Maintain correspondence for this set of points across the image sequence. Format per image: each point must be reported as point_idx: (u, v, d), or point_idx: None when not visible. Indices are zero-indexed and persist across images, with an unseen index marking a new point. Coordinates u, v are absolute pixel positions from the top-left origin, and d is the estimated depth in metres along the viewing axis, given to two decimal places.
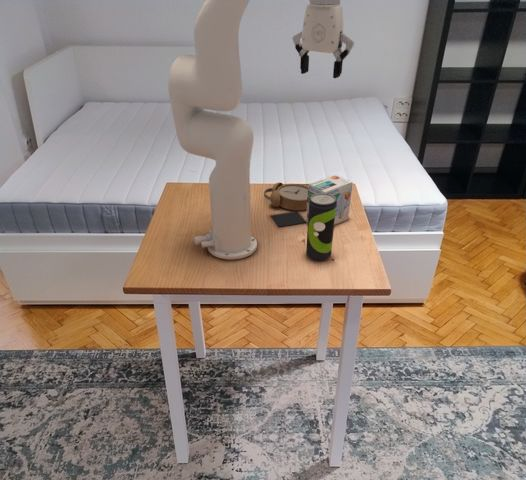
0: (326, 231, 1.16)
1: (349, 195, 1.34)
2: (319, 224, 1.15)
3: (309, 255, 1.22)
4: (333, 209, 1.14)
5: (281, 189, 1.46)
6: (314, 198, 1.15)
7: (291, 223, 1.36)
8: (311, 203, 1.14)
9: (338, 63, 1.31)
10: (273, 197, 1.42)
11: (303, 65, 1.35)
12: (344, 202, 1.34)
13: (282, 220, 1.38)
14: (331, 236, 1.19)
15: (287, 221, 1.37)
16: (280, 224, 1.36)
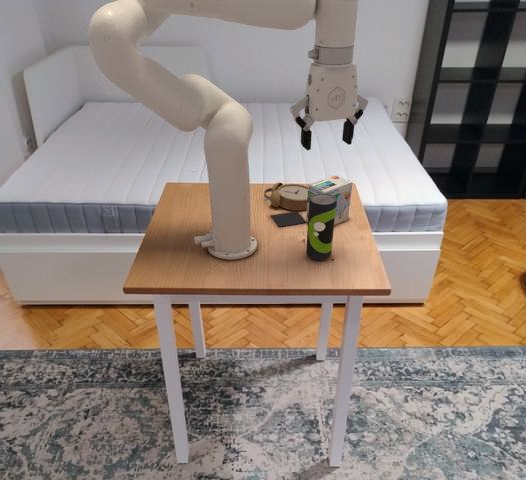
0: (326, 231, 1.16)
1: (349, 195, 1.34)
2: (319, 224, 1.15)
3: (309, 255, 1.22)
4: (333, 209, 1.14)
5: (281, 189, 1.46)
6: (314, 198, 1.15)
7: (291, 223, 1.36)
8: (311, 203, 1.14)
9: None
10: (273, 197, 1.42)
11: None
12: (344, 202, 1.34)
13: (282, 220, 1.38)
14: (331, 236, 1.19)
15: (287, 221, 1.37)
16: (280, 224, 1.36)
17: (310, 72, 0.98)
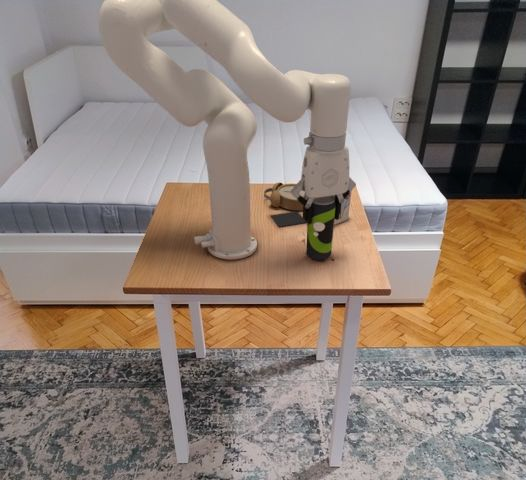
0: (325, 231, 1.16)
1: (349, 195, 1.34)
2: (319, 224, 1.15)
3: (309, 255, 1.22)
4: (333, 209, 1.14)
5: (281, 189, 1.46)
6: None
7: (291, 223, 1.36)
8: None
9: (339, 204, 1.15)
10: (273, 197, 1.42)
11: (311, 215, 1.14)
12: (344, 202, 1.34)
13: (282, 220, 1.38)
14: (331, 236, 1.19)
15: (287, 221, 1.37)
16: (280, 224, 1.36)
17: (306, 155, 1.06)
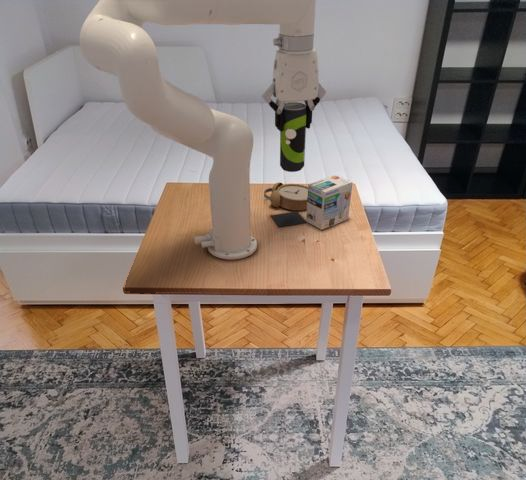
0: (297, 139, 1.21)
1: (349, 195, 1.34)
2: (290, 131, 1.20)
3: (282, 166, 1.26)
4: (303, 116, 1.18)
5: (281, 189, 1.46)
6: (285, 106, 1.19)
7: (291, 223, 1.36)
8: (282, 110, 1.18)
9: None
10: (273, 197, 1.42)
11: (282, 122, 1.19)
12: (344, 202, 1.34)
13: (282, 220, 1.38)
14: (303, 145, 1.23)
15: (287, 221, 1.37)
16: (280, 224, 1.36)
17: (275, 58, 1.11)
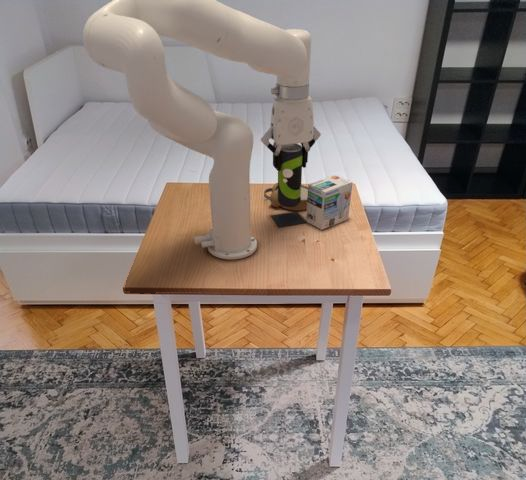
0: (294, 178, 1.28)
1: (349, 195, 1.34)
2: (287, 171, 1.27)
3: (280, 201, 1.34)
4: (300, 157, 1.26)
5: None
6: (282, 147, 1.27)
7: (291, 223, 1.36)
8: None
9: None
10: (273, 197, 1.42)
11: None
12: (344, 202, 1.34)
13: (282, 220, 1.38)
14: (299, 183, 1.30)
15: (287, 221, 1.37)
16: (280, 224, 1.36)
17: (273, 105, 1.18)
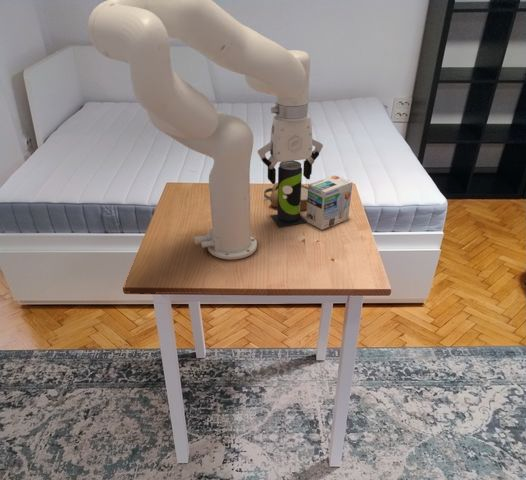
0: (293, 194, 1.31)
1: (349, 195, 1.34)
2: (287, 187, 1.30)
3: (280, 217, 1.37)
4: (299, 174, 1.29)
5: None
6: (282, 164, 1.30)
7: (291, 223, 1.36)
8: (280, 168, 1.29)
9: None
10: (273, 197, 1.42)
11: (275, 176, 1.28)
12: (344, 202, 1.34)
13: None
14: (298, 199, 1.33)
15: None
16: (280, 224, 1.36)
17: (273, 123, 1.21)
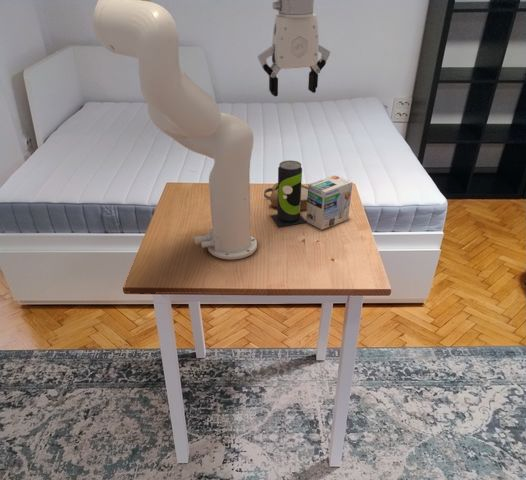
0: (293, 194, 1.31)
1: (349, 195, 1.34)
2: (287, 187, 1.30)
3: (280, 217, 1.37)
4: (299, 174, 1.29)
5: None
6: (282, 164, 1.30)
7: (291, 223, 1.36)
8: (280, 168, 1.29)
9: None
10: (273, 197, 1.42)
11: (277, 86, 1.16)
12: (344, 202, 1.34)
13: None
14: (298, 199, 1.33)
15: None
16: (280, 224, 1.36)
17: (275, 22, 1.09)
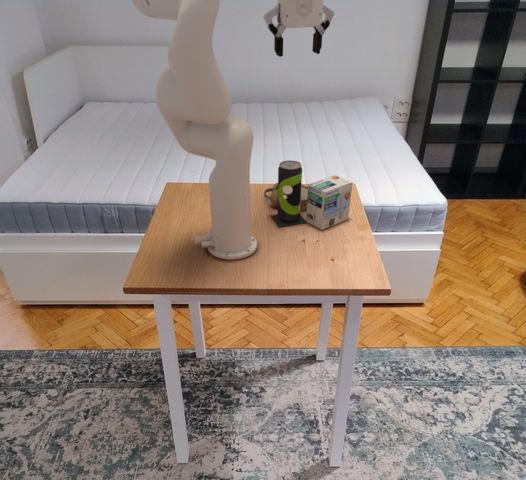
0: (293, 194, 1.31)
1: (349, 195, 1.34)
2: (287, 187, 1.30)
3: (280, 217, 1.37)
4: (299, 174, 1.29)
5: None
6: (282, 164, 1.30)
7: (291, 223, 1.36)
8: (280, 168, 1.29)
9: None
10: (273, 197, 1.42)
11: (282, 46, 1.19)
12: (344, 202, 1.34)
13: None
14: (298, 199, 1.33)
15: None
16: (280, 224, 1.36)
17: None
